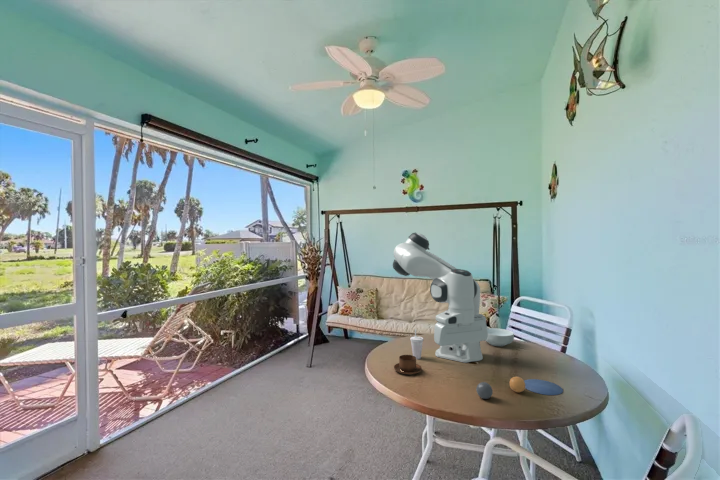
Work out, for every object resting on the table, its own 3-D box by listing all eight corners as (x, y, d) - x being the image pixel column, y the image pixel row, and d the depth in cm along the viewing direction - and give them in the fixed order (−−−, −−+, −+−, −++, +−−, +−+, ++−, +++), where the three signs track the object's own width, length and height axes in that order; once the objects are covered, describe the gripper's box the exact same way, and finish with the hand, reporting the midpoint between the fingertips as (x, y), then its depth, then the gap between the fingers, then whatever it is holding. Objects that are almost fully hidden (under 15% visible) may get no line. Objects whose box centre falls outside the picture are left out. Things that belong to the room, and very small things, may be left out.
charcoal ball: (475, 399, 120) (475, 384, 120) (477, 393, 125) (477, 378, 125) (492, 402, 118) (491, 387, 118) (493, 396, 123) (493, 381, 123)
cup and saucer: (388, 372, 147) (388, 357, 147) (404, 364, 156) (404, 351, 156) (411, 379, 139) (411, 364, 139) (426, 371, 148) (426, 357, 148)
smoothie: (408, 355, 167) (408, 327, 167) (421, 355, 168) (421, 327, 168) (412, 360, 161) (411, 331, 161) (425, 359, 161) (424, 330, 161)
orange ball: (509, 393, 125) (509, 378, 125) (509, 387, 130) (509, 373, 130) (525, 396, 123) (525, 381, 123) (525, 390, 128) (525, 375, 128)
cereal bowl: (520, 348, 177) (520, 335, 177) (489, 349, 177) (489, 336, 177) (504, 339, 194) (504, 327, 194) (476, 340, 193) (476, 327, 194)
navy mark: (521, 390, 127) (521, 390, 127) (521, 377, 140) (521, 376, 140) (564, 398, 121) (564, 397, 121) (560, 383, 134) (560, 382, 134)
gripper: (479, 312, 125) (480, 349, 125) (431, 316, 118) (431, 355, 118) (491, 315, 119) (492, 354, 119) (441, 320, 112) (441, 361, 112)
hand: (461, 355), depth 119 cm, fingers closed
